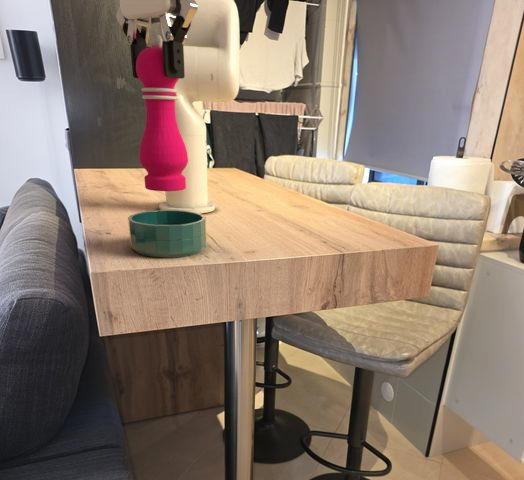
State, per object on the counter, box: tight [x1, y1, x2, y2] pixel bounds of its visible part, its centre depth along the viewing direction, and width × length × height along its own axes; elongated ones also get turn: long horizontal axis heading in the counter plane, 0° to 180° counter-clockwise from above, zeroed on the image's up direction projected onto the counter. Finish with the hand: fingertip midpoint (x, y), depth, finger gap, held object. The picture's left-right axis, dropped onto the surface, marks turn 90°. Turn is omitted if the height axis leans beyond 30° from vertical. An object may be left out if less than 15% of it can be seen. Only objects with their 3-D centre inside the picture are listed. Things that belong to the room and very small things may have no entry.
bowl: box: [127, 209, 208, 259], centre depth 74 cm, size 12×12×5 cm
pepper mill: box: [136, 33, 188, 192], centre depth 66 cm, size 7×7×20 cm
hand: (158, 76), depth 64 cm, fingers closed on pepper mill, 6 cm apart
